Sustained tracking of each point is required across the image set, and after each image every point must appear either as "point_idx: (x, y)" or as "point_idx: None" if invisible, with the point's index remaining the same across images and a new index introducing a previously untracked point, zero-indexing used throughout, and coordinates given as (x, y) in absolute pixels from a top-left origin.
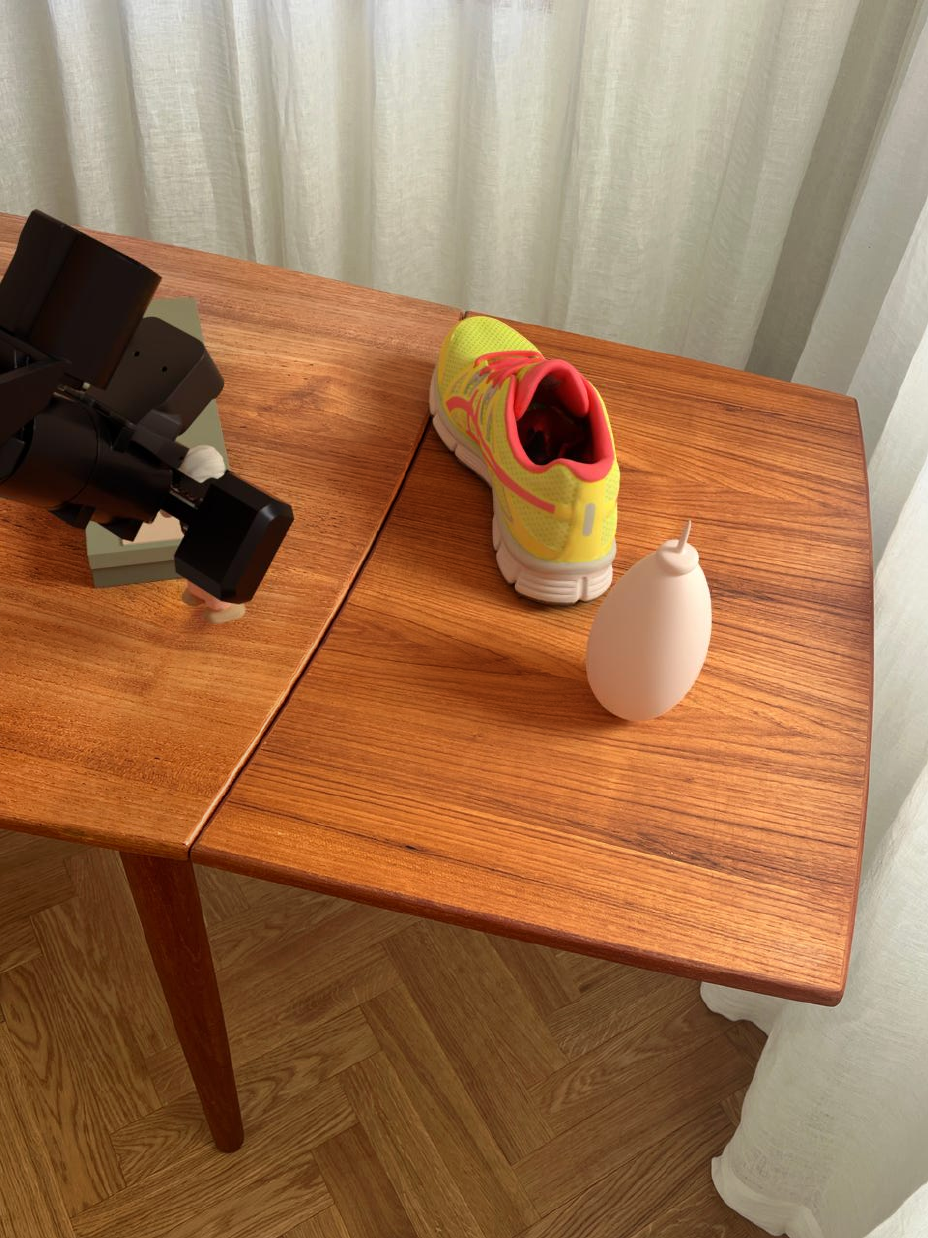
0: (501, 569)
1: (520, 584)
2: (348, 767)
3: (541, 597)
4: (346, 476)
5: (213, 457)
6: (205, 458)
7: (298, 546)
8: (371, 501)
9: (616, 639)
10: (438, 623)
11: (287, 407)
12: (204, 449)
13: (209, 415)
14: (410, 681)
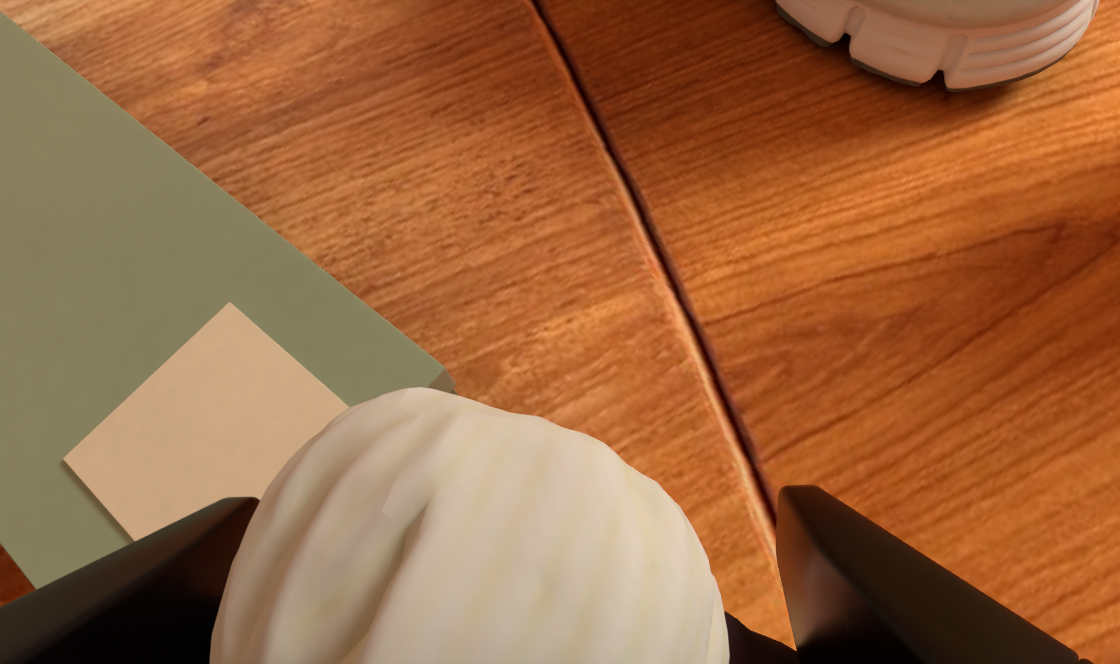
0: (892, 67)
1: (965, 70)
2: None
3: (1027, 69)
4: (455, 87)
5: (587, 557)
6: (534, 653)
7: (506, 276)
8: (539, 102)
9: None
10: (886, 245)
11: (245, 37)
12: (427, 549)
13: (126, 139)
14: (978, 404)
